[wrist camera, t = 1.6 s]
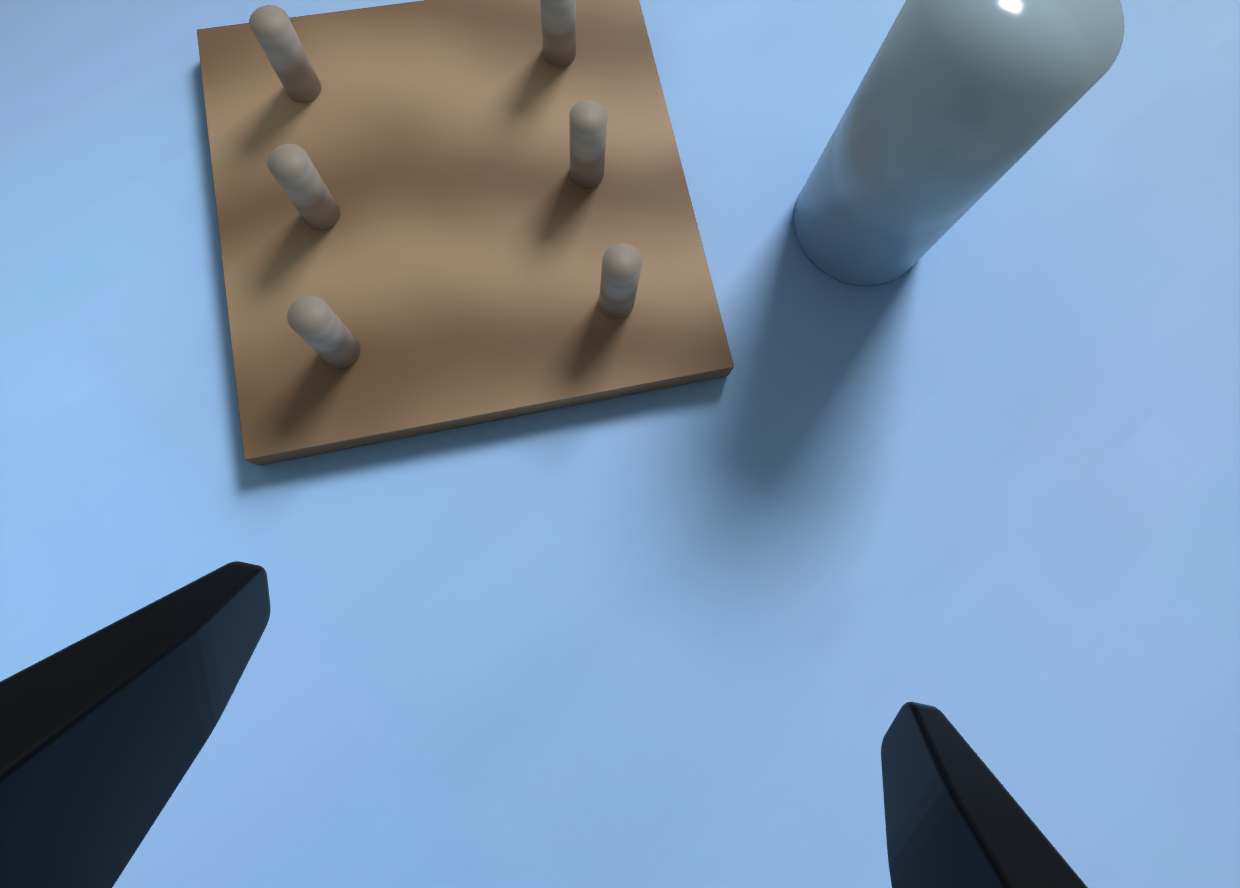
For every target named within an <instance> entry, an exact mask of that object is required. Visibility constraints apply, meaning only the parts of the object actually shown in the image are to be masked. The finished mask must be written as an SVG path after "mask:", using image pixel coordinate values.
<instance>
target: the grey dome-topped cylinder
mask: <svg viewBox="0 0 1240 888" xmlns="http://www.w3.org/2000/svg"><path fill="white" fill-rule="evenodd" d="M1123 35H1124V16H1123V11H1122V6H1121V3H1120V0H906V2H905V3H904V5H903V7H902V9H901V11H900V12H899V14H898V16H897V18H896V20H895V22H894V23H893V25H892V27H891V29H890V31H889V32H888V34H887V36H886V38H885V40H884V42H883V43H882V45H881V47H880V49H879V51H878V53H877V54H876V56H875V58H874V60H873V62H872V63H871V65H870V67H869V69H868V71H867V73H866V74H865V76H864V78H863V80H862V82H861V83H860V85H859V87H858V89H857V91H856V93H855V94H854V96H853V98H852V100H851V102H850V103H849V105H848V107H847V109H846V111H845V113H844V114H843V116H842V118H841V120H840V122H839V124H838V125H837V127H836V129H835V131H834V133H833V134H832V136H831V138H830V140H829V142H828V144H827V145H826V147H825V149H824V151H823V153H822V154H821V156H820V158H819V160H818V162H817V164H816V165H815V167H814V169H813V171H812V173H811V174H810V176H809V178H808V180H807V182H806V184H805V185H804V187H803V189H802V191H801V193H800V194H799V197H798V199H797V202H796V206H795V210H794V227H795V231H796V235H797V238H798V241H799V243H800V245H801V247H802V249H803V251H804V252H805V254H806V255H807V257H808V258H809V259H810V260H811V261H812V262H813V264H815V265H816V266H817V267H818V268H819V269H820V270H822V271H823V272H824V273H826V274H827V275H829V276H831V277H833V278H835V279H837V280H839V281H842V282H845V283H849V284H853V285H860V286H873V285H880V284H884V283H888V282H890V281H893V280H895V279H897V278H898V277H900V276H902V275H903V274H904V273H906V272H907V271H908V270H909V269H910V268H911V267H912V266H913V265H914V264H915V263H916V262H917V261H918V260H919V259H920V258H921V257H922V256H923V255H924V254H925V253H926V252H927V251H928V250H929V249H930V248H931V247H932V246H933V245H934V244H935V243H936V242H937V241H938V240H939V239H940V238H941V237H942V236H943V235H944V234H945V233H946V232H947V231H948V230H949V229H950V228H951V227H952V226H953V225H954V224H955V223H956V222H957V221H958V220H959V219H960V218H961V217H962V216H963V215H964V214H965V213H966V212H967V211H968V210H969V209H970V208H971V207H972V206H973V205H974V204H975V203H976V202H977V201H978V200H979V199H980V198H981V197H982V196H983V195H984V194H985V193H986V192H987V191H988V190H989V189H990V188H991V187H992V186H993V185H994V184H995V183H996V182H997V181H998V180H999V179H1000V178H1001V177H1002V176H1003V175H1004V174H1005V173H1006V172H1007V171H1008V170H1009V169H1010V168H1011V167H1012V166H1013V165H1014V164H1015V163H1016V162H1017V161H1018V160H1019V159H1020V158H1021V157H1022V156H1023V155H1024V154H1025V153H1026V152H1027V151H1028V150H1029V149H1030V148H1031V147H1032V146H1033V145H1034V144H1035V143H1036V142H1037V141H1038V140H1039V139H1040V138H1041V137H1042V136H1043V135H1044V134H1045V133H1046V132H1047V131H1048V130H1049V129H1050V128H1051V127H1052V126H1053V125H1054V124H1055V123H1056V122H1057V121H1058V120H1059V119H1060V118H1061V117H1062V116H1063V115H1064V114H1065V113H1066V112H1067V111H1068V110H1069V109H1070V108H1071V107H1072V106H1073V105H1074V104H1075V103H1076V102H1077V101H1078V100H1079V99H1080V98H1081V97H1082V96H1083V95H1084V94H1085V93H1086V92H1087V91H1088V90H1089V89H1090V88H1091V87H1093V86H1094V85H1095V84H1096V83H1097V82H1098V81H1099V80H1100V79H1101V78H1102V76H1103V75H1104V74H1105V73H1106V72H1107V71H1108V70H1109V69H1110V67H1111V66H1112V65H1113V63H1114V62H1115V60H1116V58H1117V56H1118V54H1119V51H1120V49H1121V45H1122V41H1123Z"/></svg>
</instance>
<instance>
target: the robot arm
mask: <svg viewBox="0 0 1240 888" xmlns="http://www.w3.org/2000/svg"><path fill="white" fill-rule="evenodd" d="M269 616H270V599H269V590H268V581H267V574H266V571H265V569H264V568H263V567H261V566H258V565H253V564H248V563H244V562H238V561H236V562H231V563H228V564H226V565H224V566H222V567H220V568H218V569H217V570H215V571H213V572H211V573H209V574H207V575H205V576H203V577H201V578H199V579H197V580H195V581H193V582H191V583H190V584H188V585H186V586H184V587H182V588H180V589H178V590H176V591H174V592H172V593H170V594H168V595H166V596H165V597H163V598H161V599H159V600H157V601H155V602H153V603H151V604H149V605H147V606H145V607H143V608H141V609H139V610H138V611H136V612H134V613H132V614H130V615H128V616H126V617H124V618H122V619H120V620H118V621H116V622H114V623H113V624H111V625H109V626H107V627H105V628H103V629H101V630H99V631H97V632H95V633H93V634H91V635H89V636H87V637H86V638H84V639H82V640H80V641H78V642H76V643H74V644H72V645H70V646H68V647H66V648H64V649H62V650H61V651H59V652H57V653H55V654H53V655H51V656H49V657H47V658H45V659H43V660H41V661H39V662H37V663H35V664H34V665H32V666H30V667H28V668H26V669H24V670H22V671H20V672H18V673H16V674H14V675H12V676H10V677H9V678H7V679H5V680H3V681H1V682H0V888H112V887H113V886H114V884H115V882H116V881H117V879H118V878H119V876H120V875H121V873H122V872H123V870H124V868H125V867H126V865H127V864H128V862H129V861H130V859H131V858H132V856H133V855H134V853H135V851H136V850H137V848H138V847H139V845H140V844H141V842H142V841H143V839H144V837H145V836H146V834H147V833H148V831H149V830H150V828H151V827H152V825H153V823H154V822H155V820H156V819H157V817H158V816H159V814H160V813H161V811H162V809H163V808H164V806H165V805H166V803H167V802H168V800H169V799H170V797H171V795H172V794H173V792H174V791H175V789H176V788H177V786H178V785H179V783H180V781H181V780H182V778H183V777H184V775H185V774H186V772H187V771H188V769H189V767H190V766H191V764H192V763H193V761H194V760H195V758H196V757H197V755H198V754H199V752H200V750H201V749H202V747H203V746H204V744H205V743H206V741H207V739H208V738H209V736H210V734H211V733H212V731H213V729H214V728H215V726H216V724H217V723H218V721H219V719H220V717H221V715H222V713H223V711H224V709H225V707H226V705H227V703H228V701H229V699H230V698H231V696H232V694H233V692H234V690H235V688H236V686H237V684H238V682H239V680H240V678H241V676H242V674H243V672H244V670H245V668H246V666H247V664H248V662H249V660H250V658H251V656H252V654H253V652H254V650H255V648H256V646H257V644H258V642H259V640H260V638H261V636H262V634H263V632H264V630H265V628H266V626H267V623H268V620H269ZM881 762H882V777H883V792H884V807H885V823H886V838H887V851H888V862H889V870H890V877H891V884H892V888H1088V887H1087V886H1086V885H1085V884H1084V883H1083V881H1082V880H1081V879H1080V878H1079V877H1078V875H1077V874H1076V873H1075V872H1074V871H1073V869H1072V868H1071V867H1070V866H1069V865H1068V863H1067V862H1066V861H1065V860H1064V859H1063V857H1062V856H1061V855H1060V854H1059V853H1058V851H1057V850H1056V849H1055V848H1054V847H1053V845H1052V844H1051V843H1050V842H1049V841H1048V839H1047V838H1046V837H1045V836H1044V835H1043V833H1042V832H1041V831H1040V830H1039V829H1038V827H1037V826H1036V825H1035V824H1034V822H1033V821H1032V820H1031V819H1030V818H1029V816H1028V815H1027V814H1026V813H1025V812H1024V810H1023V809H1022V808H1021V807H1020V806H1019V804H1018V803H1017V802H1016V801H1015V800H1014V798H1013V797H1012V796H1011V795H1010V794H1009V792H1008V791H1007V790H1006V789H1005V788H1004V786H1003V785H1002V784H1001V783H1000V782H999V780H998V779H997V778H996V777H995V776H994V774H993V773H992V772H991V771H990V770H989V768H988V767H987V766H986V765H985V764H984V762H983V761H982V760H981V759H980V758H979V756H978V755H977V754H976V753H975V752H974V750H973V749H972V748H971V747H970V746H969V744H968V743H967V742H966V741H965V740H964V738H963V737H962V736H961V735H960V734H959V732H958V731H957V730H956V729H955V727H954V726H953V725H952V724H951V723H950V721H949V720H948V719H947V718H946V717H945V715H944V714H943V713H942V712H941V711H940V710H939V709H937V708H936V707H933V706H929V705H925V704H920V703H915V702H907V703H905V704H904V705H903V706H902V707H901V709H900V711H899V712H898V714H897V716H896V717H895V719H894V721H893V722H892V724H891V726H890V727H889V729H888V731H887V732H886V734H885V736H884V738H883V741H882V746H881Z"/></svg>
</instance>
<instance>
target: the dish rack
mask: <svg viewBox="0 0 1240 888" xmlns="http://www.w3.org/2000/svg"><path fill="white" fill-rule="evenodd" d="M197 37H198V46H199V55H200V64H201V73H202V82H203V91H204V100H205V109H206V118H207V127H208V136H209V144H210V153H211V162H212V171H213V180H214V189H215V198H216V207H217V216H218V225H219V234H220V243H221V252H222V261H223V270H224V279H225V288H226V297H227V306H228V315H229V324H230V333H231V342H232V351H233V360H234V369H235V378H236V387H237V396H238V405H239V414H240V423H241V432H242V441H243V450H244V459H245V460H247V461H249V462H252V463H254V464H256V465H263V464H268V463H274V462H279V461H284V460H289V459H295V458H300V457H305V456H310V455H315V454H321V453H326V452H331V451H336V450H342V449H347V448H352V447H357V446H363V445H368V444H373V443H378V442H384V441H389V440H394V439H399V438H404V437H410V436H415V435H420V434H425V433H431V432H436V431H441V430H446V429H452V428H457V427H462V426H467V425H472V424H478V423H483V422H488V421H493V420H499V419H504V418H509V417H514V416H520V415H525V414H530V413H535V412H541V411H546V410H551V409H556V408H561V407H567V406H572V405H577V404H582V403H588V402H593V401H598V400H603V399H609V398H614V397H619V396H624V395H630V394H635V393H640V392H645V391H650V390H656V389H661V388H666V387H671V386H677V385H682V384H687V383H692V382H698V381H703V380H708V379H713V378H719V377H724V376H728V374H729V373H730V372H731V370H732V369H733V367H734V365H733V362H732V358H731V354H730V350H729V346H728V342H727V338H726V334H725V331H724V327H723V323H722V319H721V315H720V311H719V307H718V304H717V300H716V296H715V292H714V288H713V284H712V280H711V277H710V273H709V269H708V265H707V261H706V257H705V253H704V250H703V246H702V242H701V238H700V234H699V230H698V226H697V223H696V219H695V215H694V211H693V207H692V203H691V199H690V196H689V192H688V188H687V184H686V180H685V176H684V172H683V169H682V165H681V161H680V157H679V153H678V149H677V145H676V141H675V138H674V134H673V130H672V126H671V122H670V118H669V114H668V111H667V107H666V103H665V99H664V95H663V91H662V87H661V84H660V80H659V76H658V72H657V68H656V64H655V60H654V57H653V53H652V49H651V45H650V41H649V37H648V33H647V30H646V26H645V22H644V18H643V14H642V10H641V6H640V3H639V0H424V1H416V2H409V3H401V4H393V5H385V6H377V7H370V8H362V9H354V10H346V11H339V12H331V13H323V14H315V15H307V16H300V17H292V18H289V17H288V15H287V13H286V12H285V11H284V10H283V9H281V8H280V7H277V6H273V5H267V6H262V7H260V8H258V9H256V10H255V11H254V12H253V13H252V15H251V17H250V20H249V23H245V24H237V25H229V26H222V27H214V28H206V29H198V30H197Z"/></svg>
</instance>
